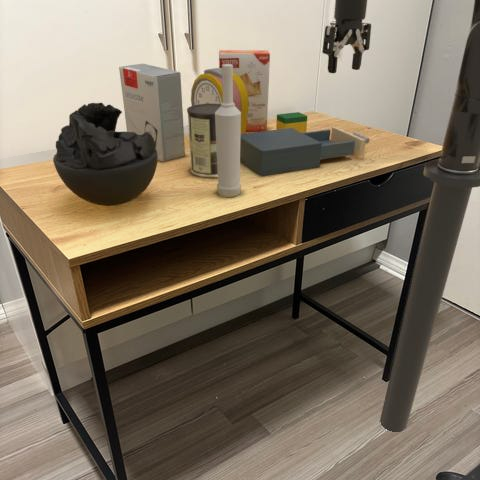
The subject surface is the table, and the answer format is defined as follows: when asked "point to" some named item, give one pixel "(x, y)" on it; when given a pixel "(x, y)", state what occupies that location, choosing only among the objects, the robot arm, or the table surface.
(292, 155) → the cabinet
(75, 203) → the table surface
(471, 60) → the robot arm
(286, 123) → the sponge
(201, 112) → the coffee can
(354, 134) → the drawer
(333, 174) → the table surface
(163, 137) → the hard drive box
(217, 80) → the alarm clock
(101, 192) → the bowl of black rocks
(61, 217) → the table surface
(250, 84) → the cracker box
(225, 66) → the bottle
